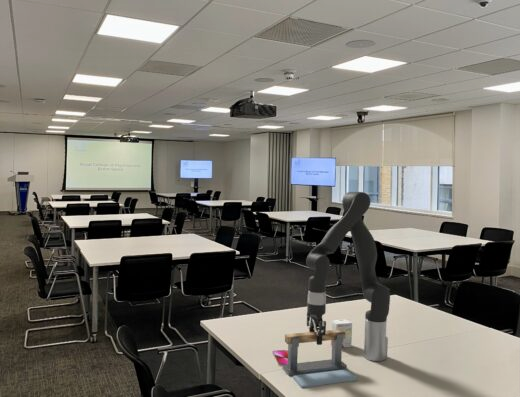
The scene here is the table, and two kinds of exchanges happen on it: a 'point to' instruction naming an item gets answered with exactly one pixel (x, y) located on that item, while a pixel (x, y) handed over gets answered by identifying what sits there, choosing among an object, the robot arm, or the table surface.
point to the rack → (314, 366)
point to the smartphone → (281, 357)
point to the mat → (324, 378)
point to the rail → (313, 336)
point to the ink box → (345, 326)
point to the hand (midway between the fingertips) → (315, 341)
